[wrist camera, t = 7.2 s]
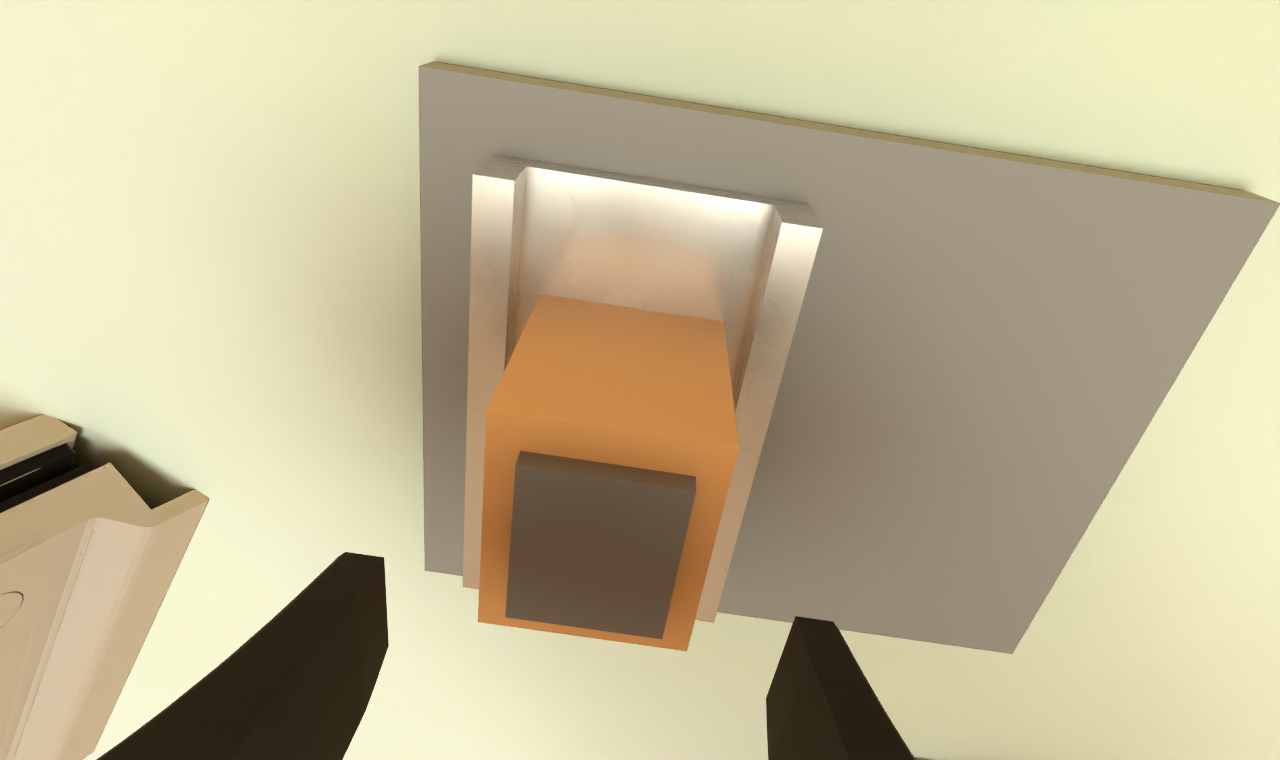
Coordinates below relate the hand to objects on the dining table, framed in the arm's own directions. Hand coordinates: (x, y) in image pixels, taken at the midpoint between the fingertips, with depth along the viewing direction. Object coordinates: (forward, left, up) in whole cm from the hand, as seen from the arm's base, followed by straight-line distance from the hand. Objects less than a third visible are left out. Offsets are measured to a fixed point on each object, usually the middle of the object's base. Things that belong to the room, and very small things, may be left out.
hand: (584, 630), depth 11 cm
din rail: (0, 0, -8) cm, 8 cm away
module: (0, 0, -7) cm, 7 cm away
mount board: (0, -4, -8) cm, 9 cm away
